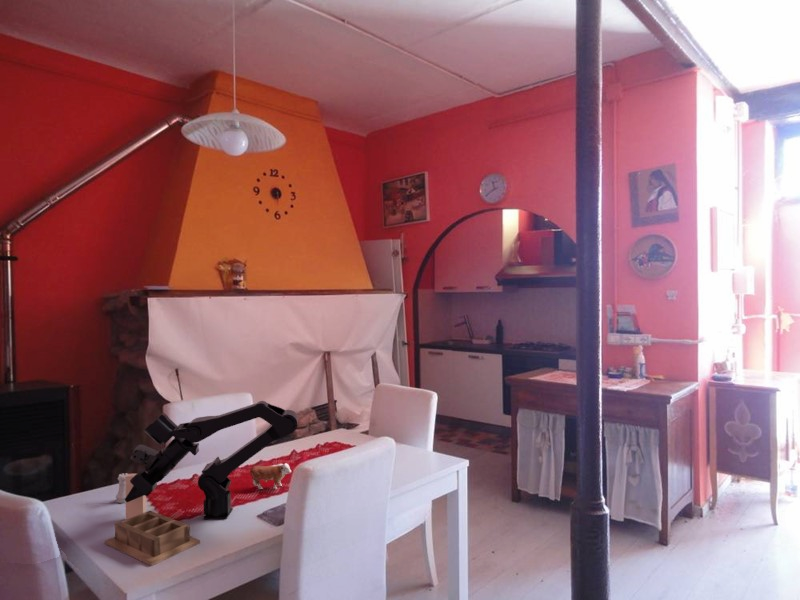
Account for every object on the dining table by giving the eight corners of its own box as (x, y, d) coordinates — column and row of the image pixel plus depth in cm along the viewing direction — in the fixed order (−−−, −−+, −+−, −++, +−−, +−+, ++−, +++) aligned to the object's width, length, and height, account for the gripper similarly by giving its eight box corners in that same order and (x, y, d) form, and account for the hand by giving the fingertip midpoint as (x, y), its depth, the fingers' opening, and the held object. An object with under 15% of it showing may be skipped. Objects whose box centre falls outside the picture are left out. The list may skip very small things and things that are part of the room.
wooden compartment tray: (153, 524, 143) (152, 507, 142) (199, 543, 132) (199, 524, 132) (104, 543, 132) (104, 524, 132) (151, 565, 121) (151, 545, 121)
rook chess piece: (114, 504, 156) (114, 477, 156) (116, 499, 160) (115, 473, 160) (131, 502, 158) (131, 475, 158) (132, 496, 162) (132, 471, 162)
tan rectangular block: (146, 517, 147) (145, 473, 147) (143, 521, 145) (142, 476, 145) (129, 518, 147) (128, 473, 147) (125, 522, 144) (125, 477, 144)
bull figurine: (290, 490, 167) (290, 465, 167) (248, 490, 167) (248, 465, 167) (293, 485, 171) (293, 460, 171) (252, 485, 171) (252, 460, 171)
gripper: (161, 427, 155) (122, 465, 154) (138, 445, 137) (93, 489, 135) (189, 452, 156) (150, 491, 155) (169, 473, 138) (125, 517, 137)
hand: (130, 496), depth 145 cm, fingers open, 6 cm apart
